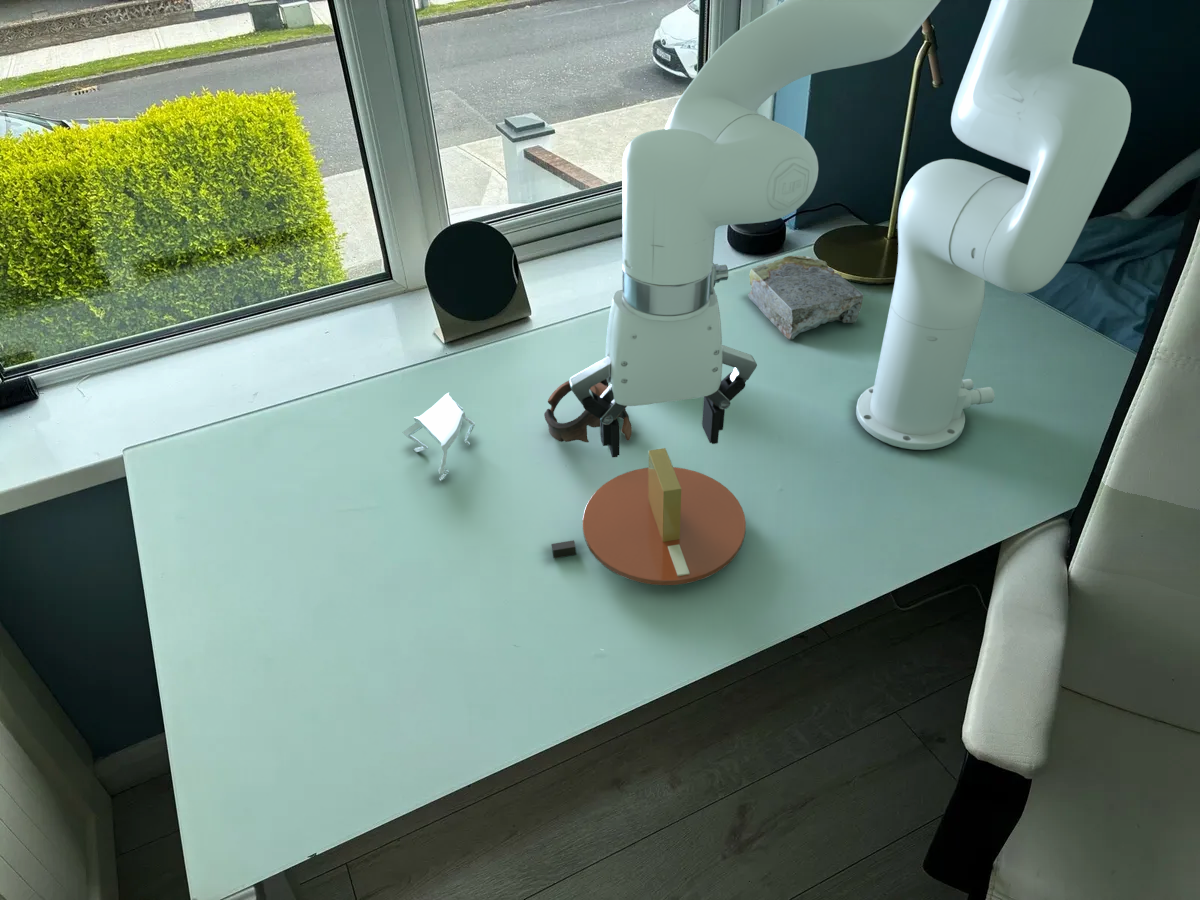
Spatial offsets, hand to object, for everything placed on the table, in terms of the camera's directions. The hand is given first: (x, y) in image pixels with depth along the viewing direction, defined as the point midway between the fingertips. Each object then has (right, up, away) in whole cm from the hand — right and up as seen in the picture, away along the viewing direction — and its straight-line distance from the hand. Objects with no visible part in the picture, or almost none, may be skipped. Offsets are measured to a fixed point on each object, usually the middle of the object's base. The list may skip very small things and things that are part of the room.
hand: (661, 441), depth 87 cm
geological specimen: (+23, +19, +43) cm, 52 cm away
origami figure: (-24, -2, +20) cm, 32 cm away
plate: (+1, -9, +7) cm, 11 cm away
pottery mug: (-7, +2, +23) cm, 24 cm away
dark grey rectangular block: (-3, -11, +8) cm, 14 cm away
